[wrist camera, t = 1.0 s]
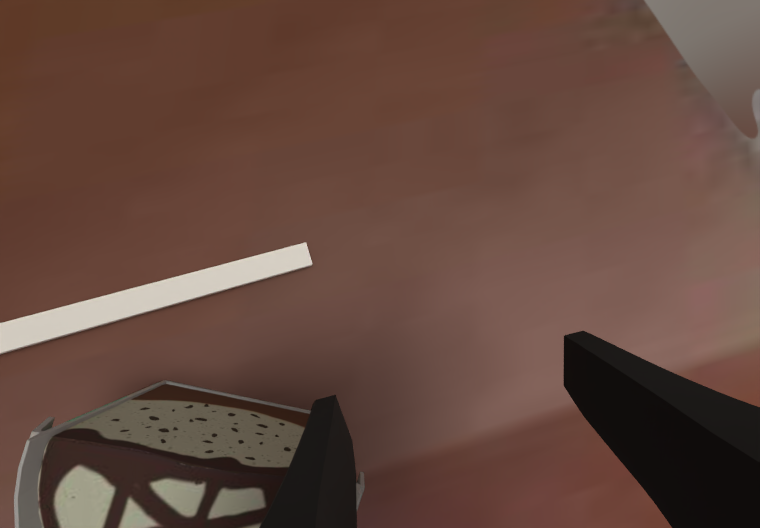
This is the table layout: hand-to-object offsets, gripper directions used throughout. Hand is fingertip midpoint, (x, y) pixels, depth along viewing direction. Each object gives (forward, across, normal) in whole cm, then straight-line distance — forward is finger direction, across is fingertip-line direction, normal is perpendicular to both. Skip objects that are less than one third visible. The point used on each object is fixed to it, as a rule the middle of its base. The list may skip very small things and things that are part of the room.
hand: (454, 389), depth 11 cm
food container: (+8, +13, +8) cm, 17 cm away
